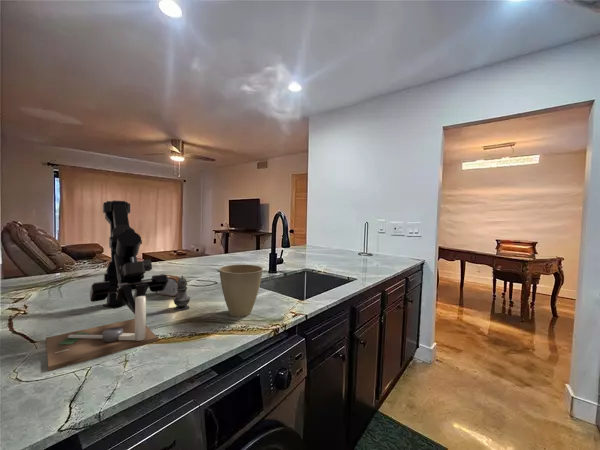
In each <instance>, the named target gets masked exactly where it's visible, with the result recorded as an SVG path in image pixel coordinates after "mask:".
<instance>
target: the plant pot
mask: <svg viewBox="0 0 600 450" xmlns="http://www.w3.org/2000/svg"><path fill="white" fill-rule="evenodd" d="M263 270H264V269H263V267H262V266H259V265H254V264H241V263H239V264H230V265H228V264H227V265H225V266H224V265H223V266H221V267H220V268H219V277H220V285H221V290H222V293H223V298H224V302H225V304H226V308H227V310H228V313H229V314H230V316H231V317H238V318H239V317H246V316H248V315H251V314H252V310H253V308H254V306H255V303H256V300H257V297H258V293H259V291H260V290H259V289H260V286H261V282H262V276H263Z"/></svg>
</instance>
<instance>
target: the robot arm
mask: <svg viewBox="0 0 600 450" xmlns="http://www.w3.org/2000/svg"><path fill="white" fill-rule="evenodd" d="M102 213H103V214H104V219H105V220H106V222H108V224H109V227H110V228H109V229H110V232H109V233H110V236H109V237H108V243H109V244H108V245H109V249H110V263H109V265H108V266H107V268H106V269H105V273H104V274H103V281H99V282H98V281H97V282H93V283H92V284H91V286H90V291H89V298H90V302H92V303H95V302H101V301H105V300H106V303H104V304H102V306H103V307H108V308H114V309H117V308H120V307H123V306H127V307H128V309H129V310H130V311H131V313H133V314H134V315H135V298H136V297H138V296H146V293H147V291H148V289H149V291H150V292H152V293H156V292H157V291H162V290H164V289H165V287H166V285H167V283H168V277H167V276H166V275H167V274H166V273H165V274H164V273H162V275H161V274H157V275H156V274H155V275H152V276H151V278H150V280H144V278H145V273H146V272H150V271H151V270H152V269H153V265H152V261H151V259H150V258H149V259H143V260H142V261H138V257H137V255H138V254H139V251H140V247H141V245H143V239H142V237H141V235H140V234H139V233H137V232H136V231H135V229H134V228H132V227H131V226H130V220H129V214H131V202H129V203H128V201H126V200H106V202H104V201H103V203H102ZM133 291H134V294H133Z"/></svg>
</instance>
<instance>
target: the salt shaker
mask: <svg viewBox="0 0 600 450" xmlns="http://www.w3.org/2000/svg"><path fill="white" fill-rule="evenodd" d="M179 278H180V279H179V280H178V288H177V290H178V294H177V296H176V297H173V298H172V301H173V303H174V305H175V307H173V310H174V311H176V312H177V311H178V312H179V311H180V312H182V311H186V310H189V309H190V308H191V307H190V306H189V305H188V304H189V303H190V301H191V300H190V299H191V296H188V295H187V294H188V293H187V289H188V287H187V279H186V278H185V277H184V276H183V275H181V277H179Z"/></svg>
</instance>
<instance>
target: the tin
mask: <svg viewBox="0 0 600 450" xmlns="http://www.w3.org/2000/svg"><path fill="white" fill-rule="evenodd" d="M162 274H163V273H162ZM162 274H160V275H162ZM165 275H166V276H167V277H168V283H167V285H166V287H165V289H164V290H162V291H157V292H155V294H157V295H160V296H166V297H170V298H175V297H177V294H178V290H177V288H178V280H179V279H180V278H181V277H180V276H177V275H171V274H165Z"/></svg>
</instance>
